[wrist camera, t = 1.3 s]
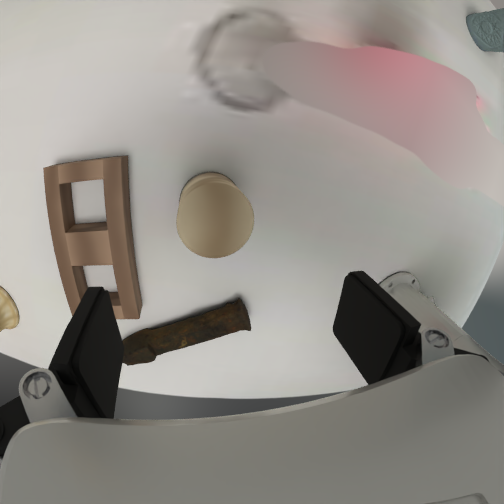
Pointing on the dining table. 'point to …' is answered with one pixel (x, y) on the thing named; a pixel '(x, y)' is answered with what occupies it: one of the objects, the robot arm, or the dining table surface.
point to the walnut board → (94, 232)
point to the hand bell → (7, 311)
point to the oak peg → (213, 216)
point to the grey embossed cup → (487, 30)
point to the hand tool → (185, 333)
